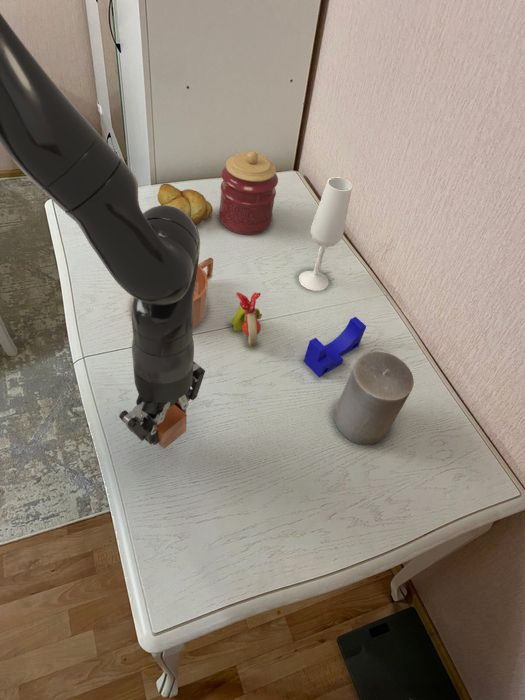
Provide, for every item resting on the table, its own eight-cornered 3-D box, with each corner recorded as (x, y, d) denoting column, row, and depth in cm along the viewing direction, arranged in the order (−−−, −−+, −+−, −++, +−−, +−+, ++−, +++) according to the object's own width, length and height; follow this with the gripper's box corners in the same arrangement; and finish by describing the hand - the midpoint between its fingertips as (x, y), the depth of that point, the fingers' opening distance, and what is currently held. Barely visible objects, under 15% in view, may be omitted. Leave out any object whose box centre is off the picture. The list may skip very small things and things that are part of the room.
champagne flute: (312, 266, 115) (337, 170, 97) (334, 282, 112) (364, 186, 94) (292, 278, 111) (314, 180, 93) (315, 295, 109) (342, 198, 91)
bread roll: (209, 207, 125) (210, 178, 119) (216, 231, 119) (218, 201, 113) (156, 209, 122) (155, 179, 116) (161, 233, 116) (160, 203, 110)
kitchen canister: (277, 234, 121) (289, 167, 108) (224, 238, 118) (230, 168, 104) (263, 203, 129) (272, 137, 116) (213, 205, 125) (217, 137, 112)
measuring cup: (168, 346, 94) (167, 318, 89) (117, 306, 99) (113, 277, 94) (235, 298, 105) (239, 271, 99) (187, 264, 110) (187, 236, 104)
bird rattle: (266, 349, 100) (258, 307, 102) (279, 331, 89) (270, 284, 91) (235, 353, 98) (228, 309, 100) (245, 335, 88) (237, 287, 90)
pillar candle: (390, 408, 91) (419, 355, 80) (383, 453, 85) (414, 403, 74) (338, 392, 92) (360, 338, 81) (328, 435, 86) (350, 383, 75)
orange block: (164, 449, 74) (163, 433, 71) (143, 430, 76) (142, 414, 72) (186, 430, 77) (187, 414, 73) (166, 413, 78) (165, 396, 75)
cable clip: (319, 377, 94) (326, 356, 89) (303, 361, 96) (309, 340, 92) (363, 351, 100) (372, 331, 95) (347, 337, 102) (355, 316, 97)
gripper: (184, 315, 68) (182, 388, 81) (97, 372, 60) (110, 444, 73) (224, 345, 66) (215, 416, 79) (139, 409, 58) (145, 477, 71)
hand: (165, 429), depth 76 cm, fingers closed on orange block, 4 cm apart
